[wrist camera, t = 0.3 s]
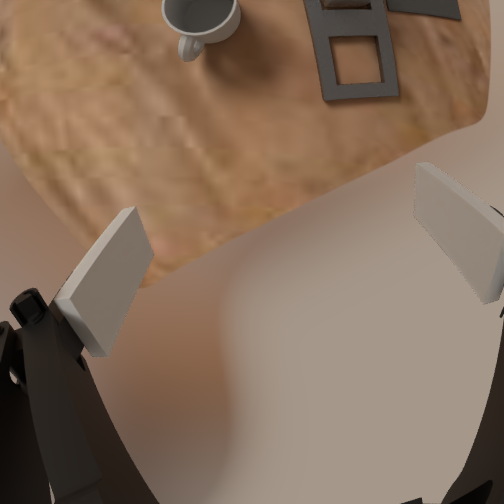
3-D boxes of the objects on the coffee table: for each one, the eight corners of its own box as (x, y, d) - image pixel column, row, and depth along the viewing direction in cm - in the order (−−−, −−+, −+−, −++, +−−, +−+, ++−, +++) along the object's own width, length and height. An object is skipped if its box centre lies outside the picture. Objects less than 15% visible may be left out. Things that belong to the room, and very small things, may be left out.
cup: (250, 1, 28) (247, -19, 20) (221, 70, 33) (211, 69, 25) (194, -12, 26) (176, -33, 19) (167, 56, 32) (142, 53, 24)
